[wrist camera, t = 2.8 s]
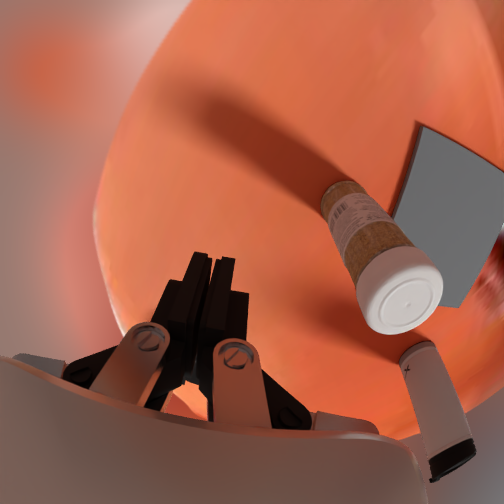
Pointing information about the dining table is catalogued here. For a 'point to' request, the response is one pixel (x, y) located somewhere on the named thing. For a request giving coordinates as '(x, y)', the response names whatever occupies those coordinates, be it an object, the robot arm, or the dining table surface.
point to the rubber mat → (451, 210)
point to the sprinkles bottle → (381, 261)
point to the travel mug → (437, 410)
